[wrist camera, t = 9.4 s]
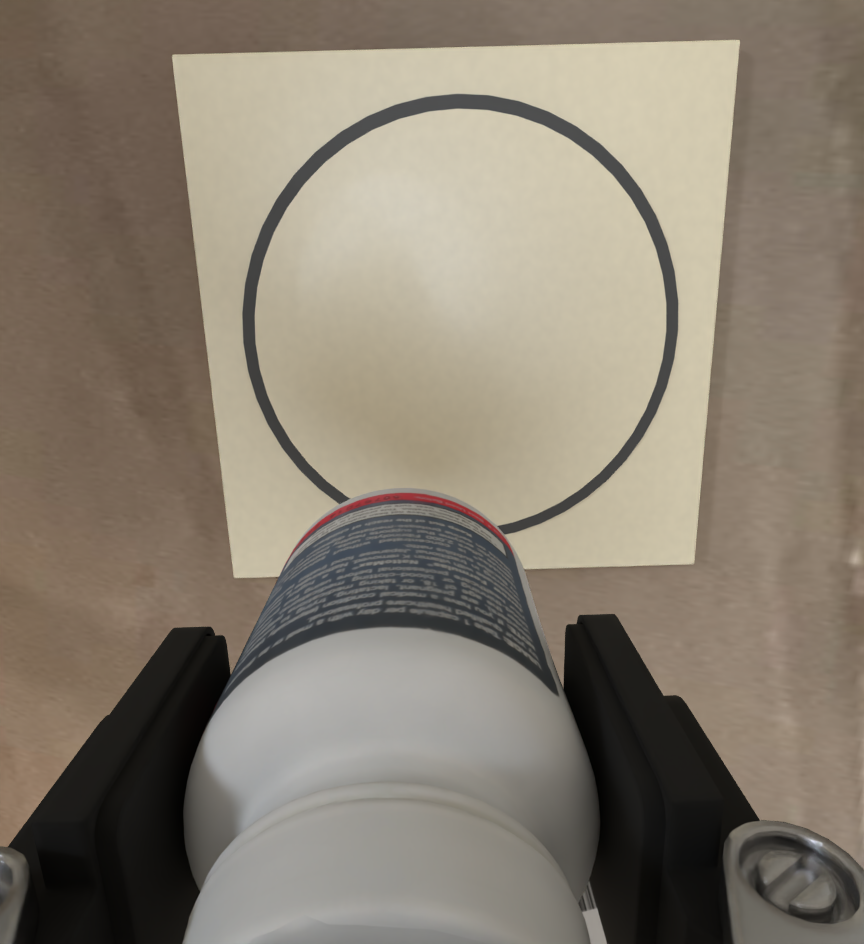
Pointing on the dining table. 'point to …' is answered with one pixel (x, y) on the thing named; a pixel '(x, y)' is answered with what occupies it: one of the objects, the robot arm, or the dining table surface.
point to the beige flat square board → (463, 285)
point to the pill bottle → (393, 748)
